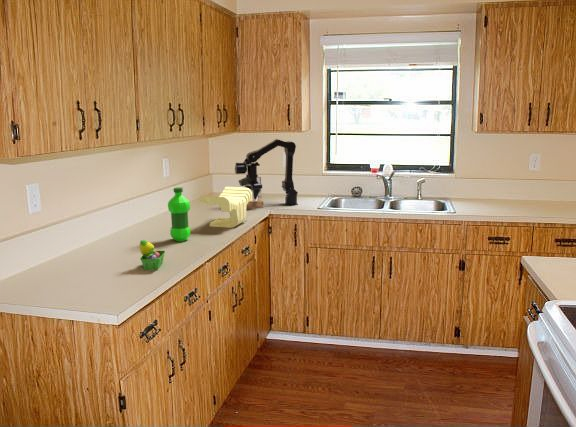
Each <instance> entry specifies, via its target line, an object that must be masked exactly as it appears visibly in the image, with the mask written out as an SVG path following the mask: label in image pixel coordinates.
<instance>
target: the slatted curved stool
mask: <svg viewBox="0 0 576 427" xmlns="http://www.w3.org/2000/svg"><path fill="white" fill-rule="evenodd" d="M250 201H252V192H251V190H250V189H249V188H245V187H244V186H241V187H239V186H237V187H236V186H225V187H224V189H223V190H222V192H221V193H220V194H219V196H211V195H200V202H203V203H207V204H209V205H216V206H217V205H218V207H219V208H220V209H221V212H222V213H223V212H224V213H226V212H227V213H229V217H218V218H217V219H214V220H212V221H211V222H209V227H216V228H230V229H232V228H235V227H236V226H239V225H240V224H242V223H243V222H245V221H246V219H247V206H246V205H247V204H248V202H250Z"/></svg>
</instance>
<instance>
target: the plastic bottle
mask: <svg viewBox="0 0 576 427" xmlns="http://www.w3.org/2000/svg"><path fill="white" fill-rule="evenodd" d="M183 190H184V189H183V187H174V188H173V193H174V196H173V197H171V198H170V199H169V200H168V202H167V209H168V211H169V212H170V216H171V217H170V218H171V228H170V231H169V234H170V236H171V238H172V239H173V240H176V242H185V241H187V239H188V238H190V236H191V228H190V226H189V214H188V213H189V211H190V210H191V204H190V201H189V199H187V197H185V196H184V195H183V194H182V193H184V191H183Z"/></svg>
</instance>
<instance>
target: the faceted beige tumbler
mask: <svg viewBox="0 0 576 427" xmlns="http://www.w3.org/2000/svg"><path fill="white" fill-rule="evenodd" d="M250 190H251V189H250ZM251 192H252V201H251V202H254V201H257V200H258V196H257V198H256V199H254V195H253V191H252V190H251Z"/></svg>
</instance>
